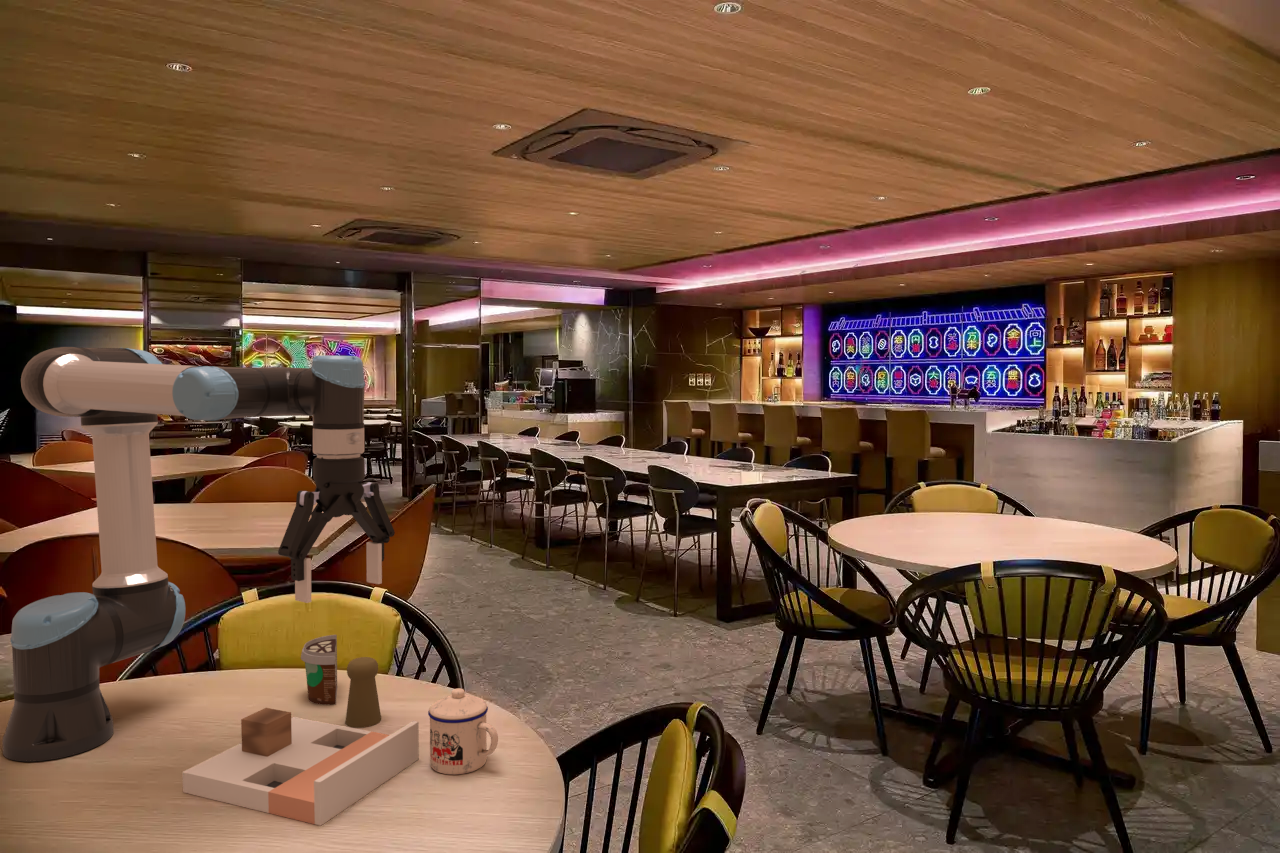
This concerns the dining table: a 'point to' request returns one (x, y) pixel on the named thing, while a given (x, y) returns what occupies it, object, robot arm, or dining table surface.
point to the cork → (362, 693)
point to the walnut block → (266, 731)
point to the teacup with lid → (459, 733)
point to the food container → (321, 669)
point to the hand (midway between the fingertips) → (340, 591)
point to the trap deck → (306, 770)
